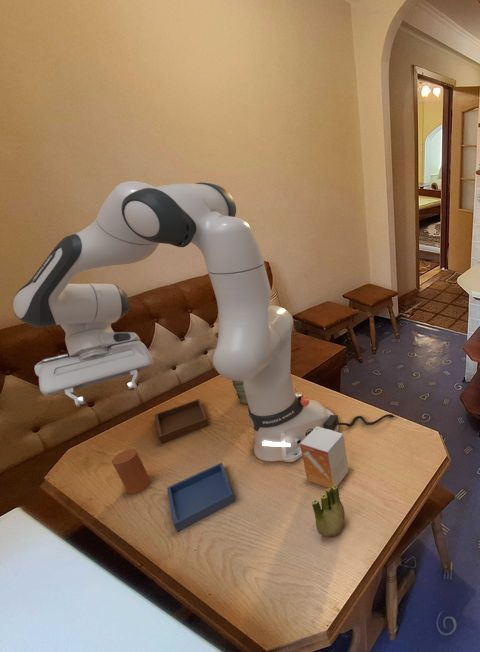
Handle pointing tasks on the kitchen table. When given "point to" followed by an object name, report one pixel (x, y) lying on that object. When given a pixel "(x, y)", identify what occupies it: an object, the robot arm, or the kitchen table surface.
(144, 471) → the spice tin
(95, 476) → the kitchen table surface
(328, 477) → the small box
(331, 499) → the fennel bulb
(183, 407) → the walnut tray
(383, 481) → the kitchen table surface
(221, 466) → the blue tray
